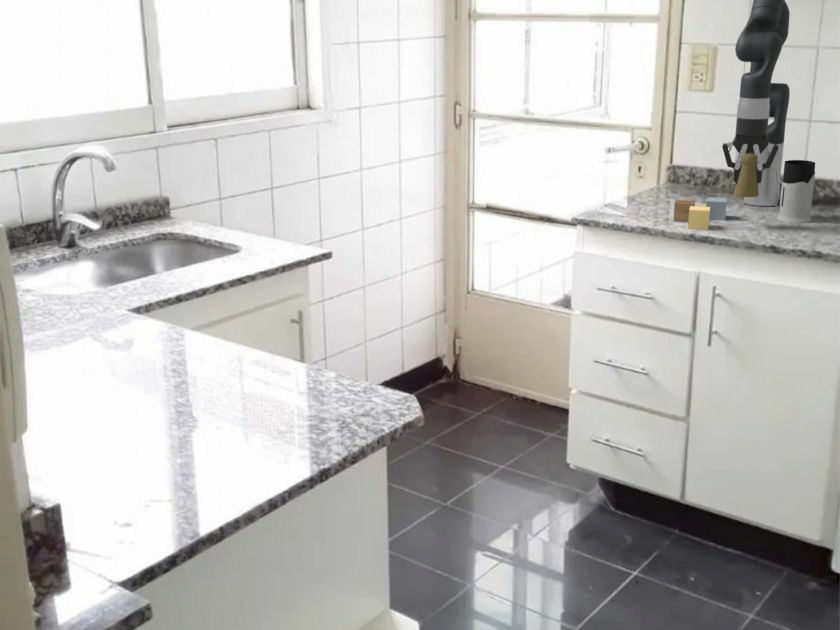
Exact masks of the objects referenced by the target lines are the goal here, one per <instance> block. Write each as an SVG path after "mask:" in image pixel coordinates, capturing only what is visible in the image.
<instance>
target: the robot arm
mask: <svg viewBox="0 0 840 630" xmlns="http://www.w3.org/2000/svg"><path fill="white" fill-rule="evenodd" d="M789 27H790V9H789V6H788V4H787V2H786V0H752V5H751V11H750V15H749V18H748V21H746V25H745V26H744V27H743V30H742V31H741V32H740V35H739V36H738V38H737V41H736V42H735V43H736V44H735V49H734V50H735V56H736V57H737V59H738V60H739V61H741V62H744V63H750V68H749V72H746V73H745V72H744V73H743V74H742V76H741V79H740V87H739V89H740V90H739V99H738V104H737V109H736V110H737V112H736V123H735V124H736V125H735V136H734V139H733V140H732V141H730V142H723V143H722V144H721V145H722V146H721V147H722V150H723V155H724V158H725V162H726V166H727V167H728V168H731V169H733V171H734V172H733V182H734V183H735V186H736V185H737V183H738V179H739V174H740V170H739V169H740V165H741V163H740V161H741V158H742V157H741V156H743V155H744V154H745V153H748V152H750V153H755V155H756V156H757V158H758V164H757V172H756V174H757V185H758V194H759V196H757V197H743V203H744V204H746V205H749V206H759V207H770V206H775V205H774V204H773V203H772V202H770V201H769V200H768V199H767V198H766V197H765V196H764V195H763V193H762V191H761V188H760V185H759V183H761V187H762V189H763V191H764V193H765V194H766V196H767V197H768V198H769V199H771V200H772V201H773V202H774V203H775V204H776V205H777V206H778V204H779V199H780V198H779V196H780V188H781V187H780V185H781V184H780V183H777V182H776V180H775V171H774V170H773V169H772V168H770V167H773V168H774V169H775V170H776V172H777V181H778V182H781V176H782V168H783V167H782V166H783V155H784V154H783V153H784V144H785V132H786V123H787V118H788V115H787V114H788V109H789V103H790V95H791V93H790V92H791V91H790V87H789V84H787V83H782V82H780V83H779V82H772V78H773V73H774V70H775V68H776V64H777V62H778V60H779V57H780V56H781V55H780V54H781V51H782V48H783V46H784V44H785V42H786V40H787V39H788V36H789ZM770 118H773V121H772V122H771V123H770V124H769V119H770ZM732 148H735V150H736V151H737V153H738V155H737V157H736V160H735V162H734V161H733V160H732V155H731V153H730V152H731V151H732Z"/></svg>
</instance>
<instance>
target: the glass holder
mask: <svg viewBox="0 0 840 630" xmlns="http://www.w3.org/2000/svg"><path fill="white" fill-rule="evenodd" d="M770 168H772V169H773V170H774V171H775V180H776V182H777V183H780V185H781V187H780V188H781V189H780V198H779V199H780V201H779V206H778V204H777V205H776V204H775V203H774V202H773V201H772V200H771V199H769V198H768V197H767V196H766V194H765V193H764V191H763V189H762V187H761V183H759V185H760V188H761V191H762V193H763V195H764V196H765V197H766V198H767V199H768V200H769V201H770V202H772V203H773V204H774V205H773V206H775V207H776V208H777V212H778V215H777V216H776V220H778V221H781V222H785V223H793V224H795V223H797V224H801V223H803V224H804V223H810V222H811V221H812V220H813V219H812V217H811V216H812V215H811V214H812V207H813V206H812V204H813V195H814V186H815V177H816V176H815V175H816V171H815V170H816V162H815V161H812V160H802V159H791V160H790V159H789V160H785V161H784V167H783V173H782V174H783V176H782V181H780V182H778V181H777V172H776V170H775V169H774V168H773V167H770Z"/></svg>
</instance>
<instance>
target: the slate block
mask: <svg viewBox="0 0 840 630" xmlns="http://www.w3.org/2000/svg"><path fill="white" fill-rule="evenodd" d="M727 199H728V198H727V197H726V198H725V197H706V206H705V207H710V217H709V221H726V216H727V215H726V213H727V202H728V201H727Z"/></svg>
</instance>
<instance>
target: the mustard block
mask: <svg viewBox="0 0 840 630" xmlns="http://www.w3.org/2000/svg"><path fill="white" fill-rule="evenodd" d="M709 217H710V207H706V206H702V205H701V206H700V205H698V206H697V205H695V206H690V209H689V220H688V222H687V223H688V224H687V229H688V230H700V231H702V230H703V231H709V228H710V220H709Z"/></svg>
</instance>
